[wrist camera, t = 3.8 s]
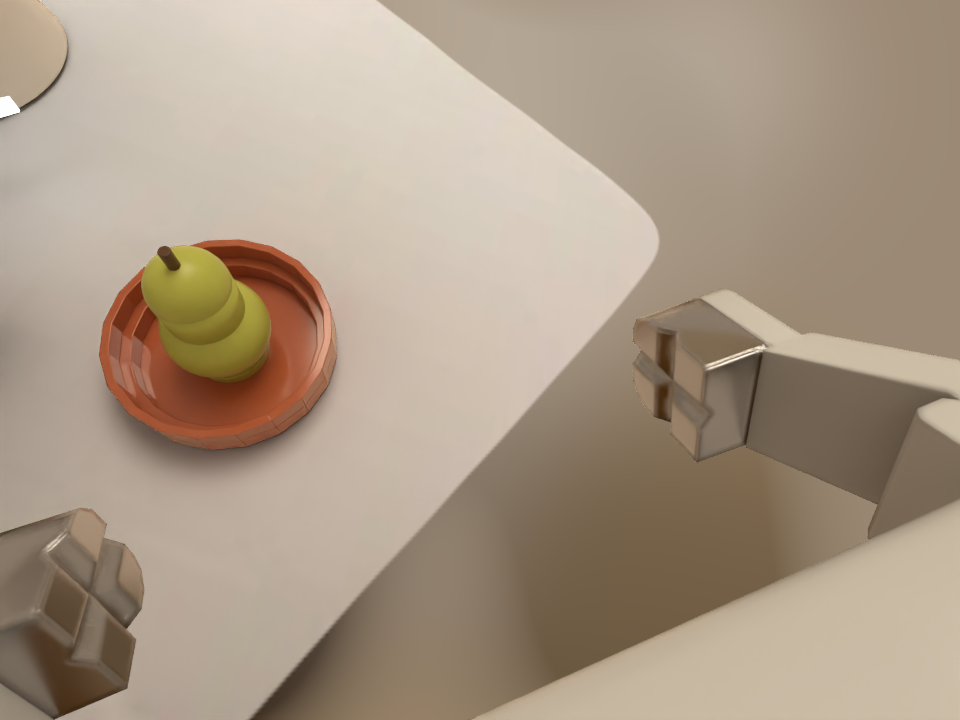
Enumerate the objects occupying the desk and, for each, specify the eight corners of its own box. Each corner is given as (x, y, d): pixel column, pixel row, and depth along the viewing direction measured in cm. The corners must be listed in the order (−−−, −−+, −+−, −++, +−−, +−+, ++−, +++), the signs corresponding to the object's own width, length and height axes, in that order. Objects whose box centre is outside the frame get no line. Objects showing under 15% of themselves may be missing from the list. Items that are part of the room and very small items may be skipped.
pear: (179, 397, 34) (83, 313, 24) (185, 311, 37) (99, 199, 26) (281, 389, 35) (231, 305, 25) (281, 305, 38) (234, 196, 27)
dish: (113, 460, 33) (86, 448, 30) (133, 269, 38) (112, 243, 35) (340, 439, 35) (335, 425, 32) (332, 260, 40) (328, 235, 37)
